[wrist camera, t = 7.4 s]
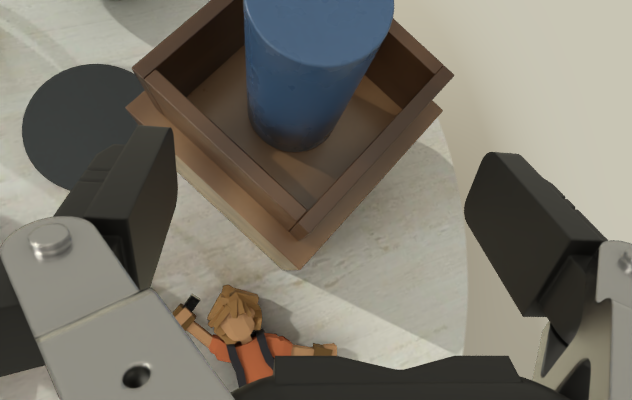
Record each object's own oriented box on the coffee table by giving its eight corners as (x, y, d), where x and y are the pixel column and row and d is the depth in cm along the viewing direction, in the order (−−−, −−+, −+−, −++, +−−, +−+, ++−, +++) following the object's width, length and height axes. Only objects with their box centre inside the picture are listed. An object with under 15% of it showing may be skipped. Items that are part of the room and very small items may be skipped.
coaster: (-7, 128, 36) (-10, 126, 36) (101, 41, 39) (98, 38, 39) (94, 222, 36) (92, 221, 36) (194, 128, 39) (194, 127, 39)
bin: (170, 165, 38) (92, 66, 20) (276, 66, 41) (294, -100, 23) (283, 270, 38) (311, 270, 19) (380, 163, 41) (484, 75, 23)
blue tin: (228, 108, 25) (208, -11, 15) (290, 49, 27) (315, -101, 16) (295, 171, 25) (326, 97, 15) (355, 109, 27) (424, 0, 16)
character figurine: (261, 533, 31) (143, 325, 31) (257, 492, 36) (155, 312, 36) (392, 439, 34) (286, 244, 33) (371, 412, 39) (279, 242, 38)
